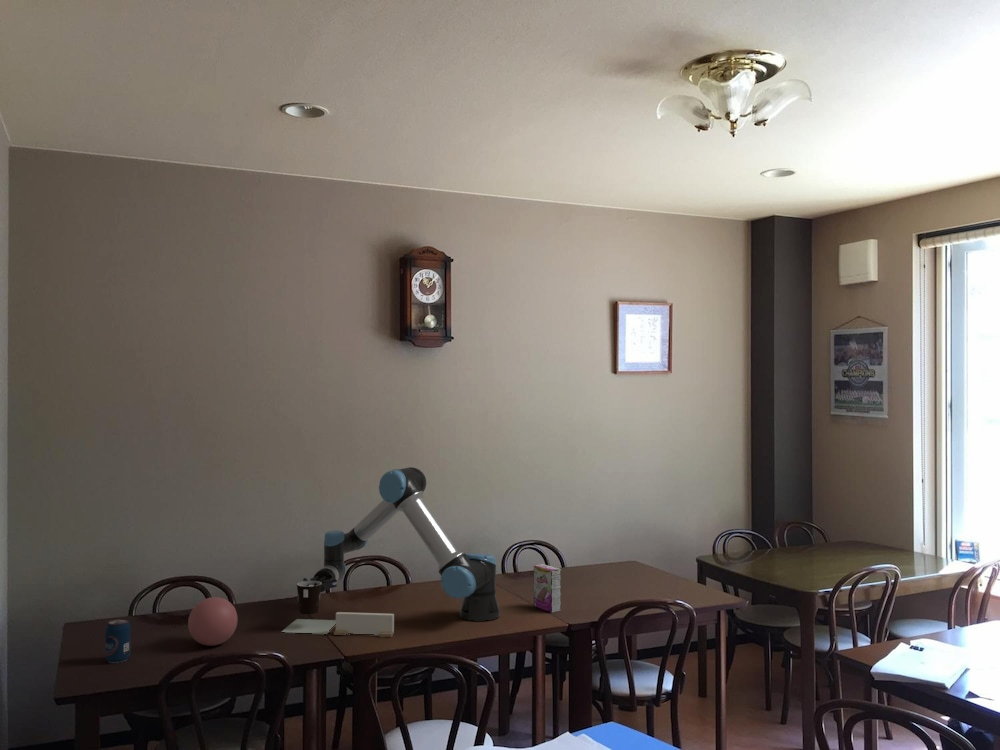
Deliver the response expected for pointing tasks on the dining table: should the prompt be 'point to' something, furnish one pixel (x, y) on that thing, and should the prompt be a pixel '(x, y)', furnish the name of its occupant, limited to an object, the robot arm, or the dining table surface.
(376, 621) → the white rectangular block
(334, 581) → the robot arm
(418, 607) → the dining table surface
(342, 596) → the dining table surface
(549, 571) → the candy bar box
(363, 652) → the dining table surface
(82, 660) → the dining table surface
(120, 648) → the soda can
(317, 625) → the mat
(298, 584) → the coffee mug
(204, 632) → the balloon
